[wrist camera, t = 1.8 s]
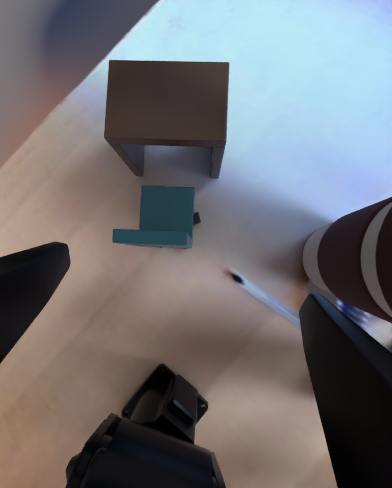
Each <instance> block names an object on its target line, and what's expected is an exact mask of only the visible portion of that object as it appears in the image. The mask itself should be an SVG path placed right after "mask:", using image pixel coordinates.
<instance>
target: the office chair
mask: <svg viewBox="0 0 392 488" xmlns="http://www.w3.org/2000/svg"><path fill="white" fill-rule="evenodd" d="M194 193H195V191H194V188H193V187H165V186H142V194H141V211H140V229H139V230H127V229H114V230H113V242H114V243H120V244H127V245H134V246H145V247H160V248H162V247H168V248H184V249H186V248H192V237H193V224H197V223H200V222H201V220H200V217H199V213H198V212H197V213H194Z"/></svg>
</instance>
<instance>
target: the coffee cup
mask: <svg viewBox="0 0 392 488" xmlns="http://www.w3.org/2000/svg"><path fill="white" fill-rule="evenodd" d="M303 266H304V269H305V272H306V274H307V276H308V277H309V279H310V280H311V281H312V282H313V283H314V284H315V285H316V286H317V287H318V288H320V289H322V290H323V291H325V292H328V293H330V294H332V295H335V296H336V297H338V298H339V299H340V300H342V301H344V302H345V303H347V304H350V305H352V306H354V307H356V308H359V309H361V310H363V311H365V312H368V313H370V314H372V315H374V316H377V317H379V318H381V319H383V320H386V321H388V322H390V323H392V197H390V198H388V199H385V200H383V201H380V202H378V203H375V204H373V205H370V206H368V207H365V208H363V209H360V210H358V211H355V212H352V213H350V214H347V215H345V216H343V217H341V218H340V219H338V220H337V221H335V222H333V223H331V224H328V225H325V226H323V227H321V228H319V229H318V230H316V231H315V232H314V233H313V234H312V235H311V236H310V237H309V239H308V240H307V242H306V244H305V246H304V250H303Z"/></svg>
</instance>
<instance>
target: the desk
mask: <svg viewBox="0 0 392 488" xmlns="http://www.w3.org/2000/svg"><path fill="white" fill-rule="evenodd" d="M228 83H229V62H180V61H129V60H109V72H108V87H107V102H106V117H105V132H104V138H105V139H106V140H107V142H108V143H109V144H110V145H111V146H112V148H113V149H114V150H115V151H116V152H117V154H118V155H119V156H120V157H121V158H122V160H123V161H124V162H125V163H126V164H127V166H128V167H129V168H130V169H131V170H132V172H133V173H134V174H135V175H136V176H143V162H144V145H161V146H194V147H212V165H211V178H217V179H218V178H219V173H220V168H221V163H222V159H223V154H224V149H225V144H226V135H227V109H228Z"/></svg>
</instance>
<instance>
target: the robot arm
mask: <svg viewBox="0 0 392 488" xmlns="http://www.w3.org/2000/svg"><path fill="white" fill-rule="evenodd" d="M69 267H70V255H69V248H68V245H67V244H65V243H61V242H51V243H48V244H44V245H41V246H38V247H34V248H31V249H27V250H24V251H20V252H17V253H13V254H10V255H6V256H3V257H0V363H1V362H2V361H3V359H4V358H5V357H6V356H7V354H8V353H9V352H10V350H11V349H12V348H13V347H14V345H15V344H16V343H17V341H18V340H19V339H20V338H21V336H22V335H23V334H24V332H25V331H26V330H27V328H28V327H29V326H30V325H31V323H32V322H33V321H34V319H35V318H36V317H37V316H38V314H39V313H40V312H41V310H42V309H43V308H44V307H45V305H46V304H47V302H48V301H49V299H50V298H51V296H52V295H53V293H54V292H55V290H56V288H57V287H58V285H59V284H60V282H61V280H62V279H63V277H64V275H65V274H66V272H67V271H68V269H69ZM299 317H300V325H301V332H302V339H303V347H304V353H305V358H306V362H307V366H308V370H309V374H310V378H311V382H312V386H313V390H314V394H315V398H316V402H317V406H318V410H319V414H320V418H321V422H322V426H323V430H324V434H325V439H326V443H327V447H328V451H329V455H330V459H331V463H332V467H333V471H334V475H335V479H336V483H337V487H338V488H392V353H391V352H389V351H388V350H387V349H386V348H385V347H383V346H382V345H381V344H380V343H379V342H377V341H376V340H375V339H374V338H373V337H371V336H370V335H369V334H368V333H367V332H366V331H364V330H363V329H362V328H361V327H360V326H358V325H357V324H356V323H355V322H354V321H352V320H351V319H350V318H349V317H348V316H346V315H345V314H344V313H343V312H342V311H340V310H339V309H338V308H337V307H336V306H334V305H333V304H332V303H331V302H329V301H328V300H327V299H326V298H325V297H324V296H322V295H318V294H313V293H310V294H309V295H308V296H307V297H306V299H305V301H304V303H303V304H302V306H301V308H300V311H299ZM160 368H163V369H164V371H160ZM203 404H204V405H205V407H202V406H201V405H203ZM207 410H208V402H207V401H206V400H205V399H204V398H203V397H202V396H200V395H199V394H198V393H197V390H196V389H195V388H194V387H193V386H192V385H191V384H190V383H188V382H187V381H186V380H185V379H184V378H183V377H181V376H180V375H177V374H175V373H174V372H173V371H172V370H170V369H169V368H168V367H167V366H166V365H165V364H159V365H158V366H157V367H156V369H155V370H154V371H153V372H152V374H151V375H150V376H149V377H148V378H147V380H146V381H145V382H144V383H143V385H142V386H141V387H140V388H139V390H138V391H137V392H136V393H135V394H134V396H133V397H132V398H131V399H130V401H129V402H128V403H127V404H126V405H125V407H124V408H123V410H122V413H121V414H122V416H123V418H119V417H117V416H118V415H116V414H113V413H111V414H110V415H109V416H108V418H107V419H106V420H104V421H103V422H102V423H101V424H100V426H99V427H98V428H97V429H96V431H95V432H94V433H93V434H92V435H91V437H90V438H89V439H88V440H87V442H86V443H85V445H84V447H83V449H82V452H80V453H79V454H77V455H75V456H74V457H72V458H71V460H70V462H69V464H68V466H67V468H66V478H67V485H66V488H226V486H225V483H224V480H223V477H222V474H221V471H220V468H219V465H218V462H217V459H216V456H215V454H214V452H211V451H210V450H208V449H205V448H202V447H200V446H197V445H195V444H194V439H195V425H196V424H197V422H198V421H199V420H200V419H201V417H202V416H203V415H204V414H205V412H206V411H207ZM125 411H128V412H129V413H126V412H125Z"/></svg>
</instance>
